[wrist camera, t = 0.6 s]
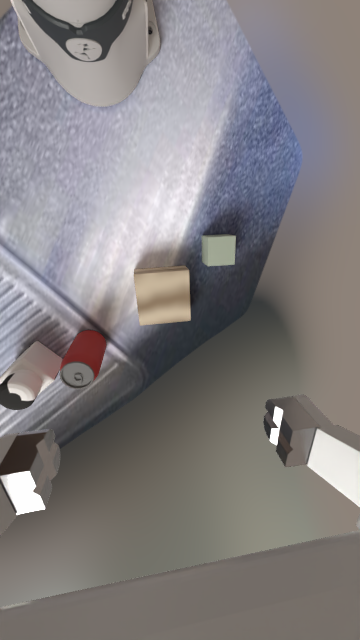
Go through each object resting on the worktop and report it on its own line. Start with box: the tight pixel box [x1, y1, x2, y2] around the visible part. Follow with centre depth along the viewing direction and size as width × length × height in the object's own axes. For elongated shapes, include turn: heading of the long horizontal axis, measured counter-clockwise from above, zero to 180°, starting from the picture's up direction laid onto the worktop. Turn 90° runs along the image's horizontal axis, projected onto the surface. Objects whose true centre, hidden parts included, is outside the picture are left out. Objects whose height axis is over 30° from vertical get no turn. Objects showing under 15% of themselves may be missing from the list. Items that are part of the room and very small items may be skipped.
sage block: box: [202, 234, 236, 266], centre depth 45 cm, size 5×5×5 cm
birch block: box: [134, 266, 191, 325], centre depth 47 cm, size 10×10×5 cm
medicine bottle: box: [0, 341, 63, 410], centre depth 46 cm, size 7×7×12 cm
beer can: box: [60, 330, 106, 389], centre depth 46 cm, size 7×7×12 cm
